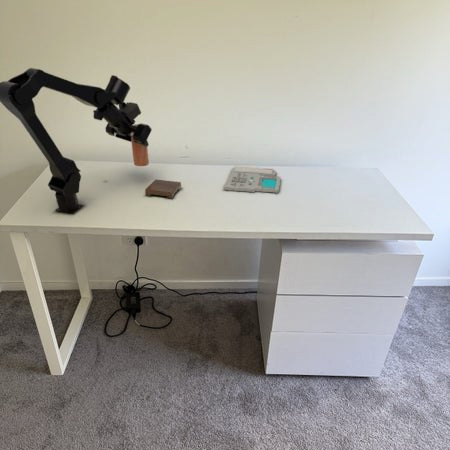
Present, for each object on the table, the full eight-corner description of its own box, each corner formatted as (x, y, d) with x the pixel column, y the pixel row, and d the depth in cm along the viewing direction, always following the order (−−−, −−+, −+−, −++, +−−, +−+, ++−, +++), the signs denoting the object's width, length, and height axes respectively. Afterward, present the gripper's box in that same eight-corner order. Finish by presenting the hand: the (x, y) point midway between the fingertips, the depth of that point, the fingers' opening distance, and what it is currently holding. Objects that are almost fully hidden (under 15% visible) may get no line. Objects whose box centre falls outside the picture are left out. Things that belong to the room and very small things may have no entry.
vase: (149, 166, 143) (145, 127, 135) (134, 166, 142) (129, 127, 134) (148, 161, 147) (145, 123, 139) (133, 161, 146) (129, 123, 138)
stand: (172, 199, 135) (171, 192, 134) (145, 196, 137) (144, 189, 136) (181, 188, 143) (180, 182, 141) (156, 185, 145) (155, 179, 143)
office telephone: (233, 163, 159) (281, 166, 157) (233, 169, 160) (281, 173, 158) (224, 183, 141) (279, 187, 138) (224, 190, 142) (278, 194, 140)
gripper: (144, 99, 123) (170, 128, 137) (106, 91, 132) (134, 120, 146) (129, 129, 123) (156, 156, 137) (92, 120, 132) (121, 146, 146)
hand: (142, 143), depth 141 cm, fingers closed on vase, 5 cm apart
